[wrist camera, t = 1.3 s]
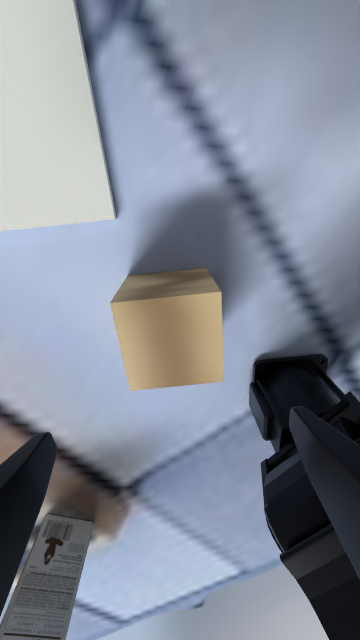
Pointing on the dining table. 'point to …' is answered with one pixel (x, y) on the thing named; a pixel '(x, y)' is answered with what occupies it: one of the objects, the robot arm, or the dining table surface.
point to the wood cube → (170, 328)
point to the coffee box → (48, 582)
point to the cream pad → (48, 120)
